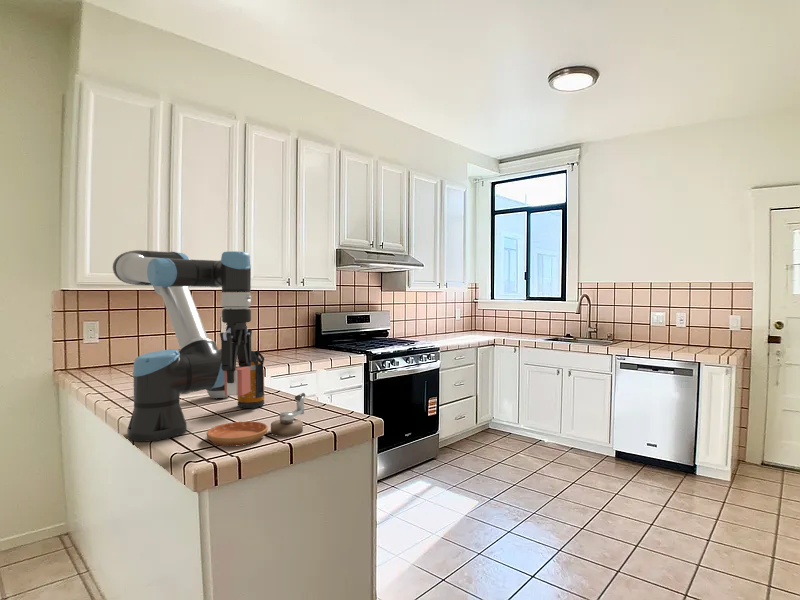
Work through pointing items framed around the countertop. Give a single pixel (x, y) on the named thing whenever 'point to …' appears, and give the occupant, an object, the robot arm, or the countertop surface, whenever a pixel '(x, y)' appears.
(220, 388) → the black rounded egg shape
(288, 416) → the crank
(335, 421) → the countertop surface
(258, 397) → the canister
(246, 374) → the block
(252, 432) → the saucer
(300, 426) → the hub plate
